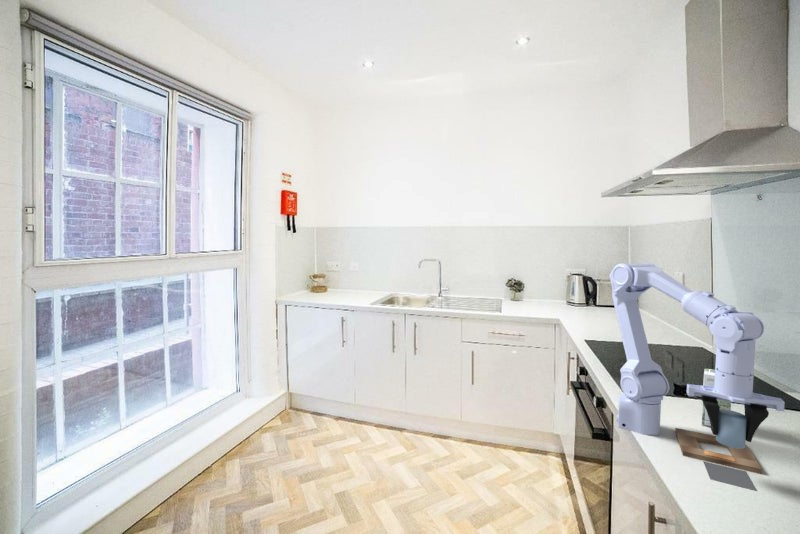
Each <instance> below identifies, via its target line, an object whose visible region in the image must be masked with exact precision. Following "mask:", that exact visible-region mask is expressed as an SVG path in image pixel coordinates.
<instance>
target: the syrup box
mask: <svg viewBox="0 0 800 534" xmlns="http://www.w3.org/2000/svg"><path fill="white" fill-rule="evenodd" d="M702 382H703V386H714V384H715V369H711V368H704V372H703V381H702ZM701 401H702V400H701ZM717 401H718V405H719V407H720V409H725V410H731V411H732V408H731V407H732V402H730V401H724V400H718V399H717ZM701 405H702V406H701V425H702V426H706V427H709V428H711V425H710V420H709V416H708V413H707V411H706V408H705V406H704V404H703V401H702V403H701ZM720 409H719V410H720Z"/></svg>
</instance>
